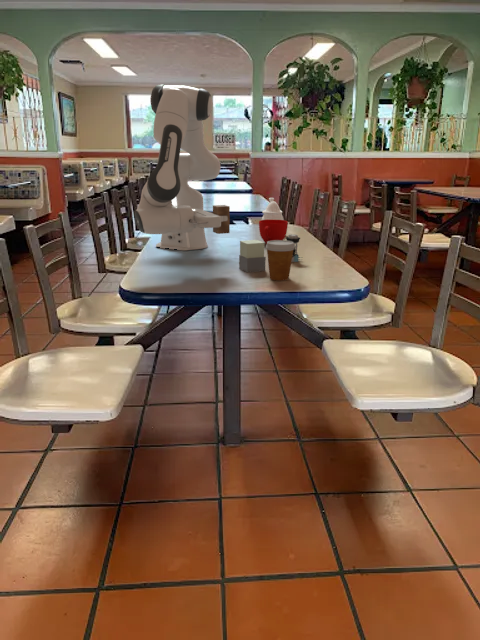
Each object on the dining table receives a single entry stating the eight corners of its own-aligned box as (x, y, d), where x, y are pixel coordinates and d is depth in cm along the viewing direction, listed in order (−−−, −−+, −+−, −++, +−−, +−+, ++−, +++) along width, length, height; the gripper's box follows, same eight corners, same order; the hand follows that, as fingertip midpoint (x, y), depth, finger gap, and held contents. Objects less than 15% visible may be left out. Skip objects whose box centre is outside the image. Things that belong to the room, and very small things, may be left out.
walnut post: (217, 233, 169) (217, 206, 166) (212, 231, 173) (212, 205, 170) (229, 233, 170) (229, 206, 167) (224, 231, 174) (224, 204, 171)
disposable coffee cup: (263, 275, 169) (263, 240, 165) (290, 274, 169) (292, 239, 166) (266, 282, 160) (267, 245, 156) (296, 281, 160) (297, 244, 157)
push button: (301, 259, 193) (302, 234, 189) (303, 262, 188) (304, 236, 184) (284, 259, 193) (285, 234, 189) (285, 262, 188) (286, 236, 184)
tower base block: (247, 272, 173) (247, 258, 171) (239, 268, 179) (239, 254, 177) (265, 271, 175) (265, 257, 174) (256, 267, 181) (256, 253, 180)
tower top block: (246, 258, 171) (247, 243, 170) (240, 254, 177) (240, 240, 176) (264, 257, 174) (264, 242, 172) (256, 253, 179) (256, 239, 178)
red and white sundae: (255, 234, 251) (255, 197, 245) (277, 232, 256) (278, 196, 250) (266, 238, 240) (267, 200, 234) (289, 236, 245) (291, 199, 239)
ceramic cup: (251, 246, 219) (251, 223, 216) (264, 240, 234) (264, 218, 231) (279, 248, 214) (280, 225, 211) (290, 242, 229) (291, 220, 226)
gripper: (195, 213, 155) (235, 211, 160) (175, 205, 172) (212, 204, 178) (195, 233, 157) (235, 230, 162) (176, 224, 174) (213, 222, 180)
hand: (223, 216), depth 170 cm, fingers closed on walnut post, 4 cm apart
